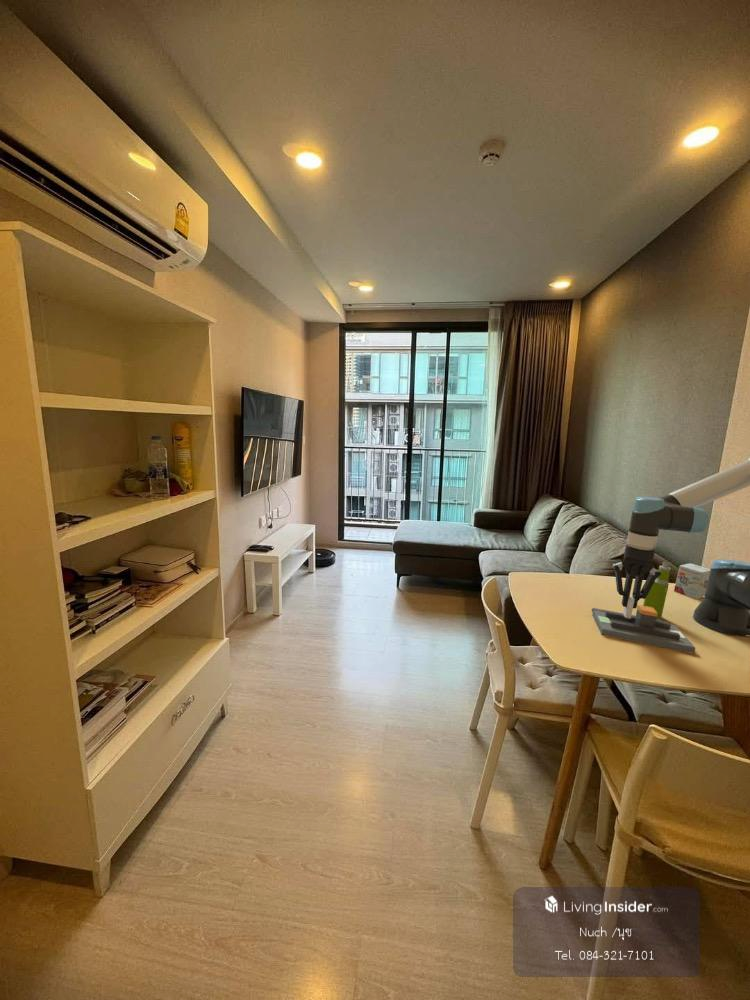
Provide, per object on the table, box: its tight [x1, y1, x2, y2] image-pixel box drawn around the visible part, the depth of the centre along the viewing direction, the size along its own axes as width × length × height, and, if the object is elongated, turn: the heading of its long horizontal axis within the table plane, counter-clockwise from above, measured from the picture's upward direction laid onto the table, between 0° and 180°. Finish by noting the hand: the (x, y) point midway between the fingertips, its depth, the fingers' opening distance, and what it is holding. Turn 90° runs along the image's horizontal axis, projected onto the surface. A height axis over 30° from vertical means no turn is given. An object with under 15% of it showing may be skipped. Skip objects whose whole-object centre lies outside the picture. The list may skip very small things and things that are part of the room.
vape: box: [642, 561, 672, 619], centre depth 132 cm, size 4×6×20 cm, turn 26°
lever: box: [634, 604, 658, 628], centre depth 119 cm, size 4×4×6 cm
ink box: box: [673, 563, 710, 600], centre depth 155 cm, size 9×9×12 cm
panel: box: [591, 610, 696, 654], centre depth 120 cm, size 24×14×4 cm, turn 70°
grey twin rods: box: [591, 607, 668, 622], centre depth 129 cm, size 23×3×1 cm, turn 70°
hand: (626, 616), depth 121 cm, fingers closed
